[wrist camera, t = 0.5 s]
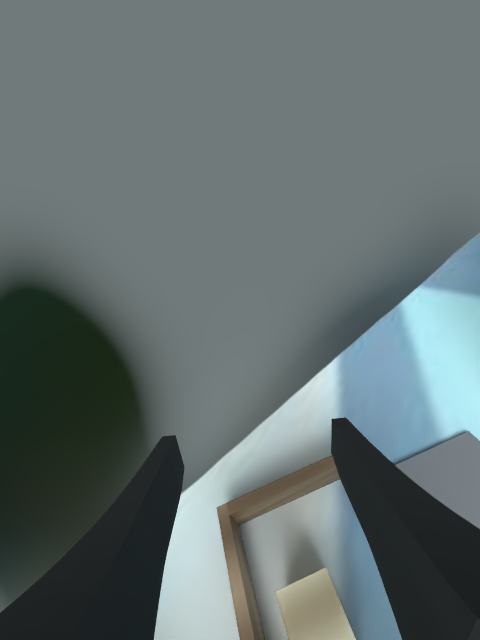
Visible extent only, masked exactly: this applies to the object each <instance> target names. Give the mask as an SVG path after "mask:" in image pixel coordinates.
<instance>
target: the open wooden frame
mask: <svg viewBox="0 0 480 640" xmlns="http://www.w3.org/2000/svg"><path fill="white" fill-rule="evenodd" d="M339 479H340V477H339V474H338V471H337V468H336V465H335V462H334V459H333V456H330V457H328V458H325V459H323V460H321V461H319V462H317V463H314V464H312V465H310V466H308V467H305V468H303V469H301V470H299V471H297V472H294V473H292V474H290V475H288V476H286V477H283V478H281V479H279V480H277V481H274V482H272V483H270V484H268V485H266V486H263V487H261V488H259V489H257V490H254V491H252V492H250V493H248V494H246V495H243V496H241V497H239V498H237V499H235V500H232V501H230V502H228V503H226V504H223V505H221V506H219V507H217V512H218V517H219V523H220V529H221V534H222V540H223V546H224V551H225V557H226V563H227V569H228V574H229V580H230V586H231V591H232V597H233V603H234V608H235V614H236V620H237V626H238V631H239V637H240V640H265V638H264V634H263V629H262V625H261V620H260V616H259V612H258V607H257V603H256V598H255V594H254V589H253V585H252V581H251V576H250V572H249V567H248V563H247V558H246V554H245V550H244V545H243V541H242V536H241V532H240V528H239V525H241V524H243V523H245V522H247V521H249V520H251V519H254V518H256V517H258V516H260V515H262V514H265V513H267V512H269V511H271V510H273V509H275V508H278V507H280V506H282V505H284V504H286V503H289V502H291V501H293V500H295V499H297V498H299V497H302V496H304V495H306V494H308V493H310V492H313V491H315V490H317V489H319V488H321V487H323V486H326V485H328V484H330V483H332V482H334V481H337V480H339Z"/></svg>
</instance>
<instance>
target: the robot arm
mask: <svg viewBox="0 0 480 640" xmlns="http://www.w3.org/2000/svg"><path fill="white" fill-rule="evenodd" d="M331 453H332V456H333V459H334V462H335V465H336V468H337V471H338V474H339V477H340V479H341V482H342V484H343V486H344V488H345V491H346V493H347V495H348V497H349V500H350V502H351V504H352V506H353V509H354V511H355V513H356V515H357V518H358V520H359V522H360V524H361V527H362V529H363V531H364V533H365V536H366V538H367V540H368V543H369V545H370V548H371V551H372V553H373V556H374V559H375V562H376V565H377V567H378V570H379V573H380V576H381V578H382V581H383V584H384V587H385V590H386V593H387V596H388V599H389V602H390V605H391V607H392V610H393V613H394V616H395V619H396V622H397V625H398V628H399V631H400V634H401V637H402V640H480V529H479V528H478V527H476V526H475V525H473V524H472V523H470V522H469V521H467V520H466V519H464V518H463V517H461V516H460V515H458V514H457V513H455V512H454V511H452V510H451V509H449V508H448V507H447V506H445V505H444V504H443V503H441V502H440V501H438V500H437V499H436V498H434V497H433V496H432V495H431V494H429V493H428V492H427V491H425V490H424V489H423V488H421V487H420V486H419V485H418V484H416V483H415V482H414V481H413V480H412V479H410V478H409V477H408V476H407V475H406V474H404V473H403V472H402V471H401V470H400V469H399V468H397V467H396V466H395V465H394V464H393V463H392V462H391V461H390V460H388V459H387V458H386V457H385V456H384V455H383V454H382V453H381V452H380V451H379V450H378V449H377V448H376V447H374V446H373V445H372V444H371V443H370V442H369V441H368V440H367V439H366V438H365V437H364V436H363V435H362V434H361V433H360V432H359V431H358V430H357V429H356V428H355V427H354V426H353V424H352V423H351V422H350V421H349V420H348V419H346V418H337V419H332V441H331ZM183 474H184V464H183V460H182V457H181V453H180V450H179V446H178V443H177V439H176V436H175V435H174V436H164V437H162V438H161V439H160V441H159V442H158V443H157V445H156V446H155V448H154V449H153V451H152V452H151V454H150V455H149V456H148V458H147V459H146V461H145V462H144V463H143V465H142V466H141V468H140V469H139V470H138V472H137V473H136V475H135V476H134V477H133V478H132V480H131V481H130V482H129V484H128V485H127V487H126V488H125V489H124V490H123V491H122V493H121V494H120V495H119V496H118V498H117V499H116V500H115V501H114V503H113V504H112V505H111V506H110V507H109V509H108V510H107V511H106V512H105V513H104V514H103V516H102V517H101V518H100V519H99V520H98V521H97V522H96V523H95V525H94V526H93V527H92V528H91V529H90V530H89V531H88V532H87V533H86V534H85V535H84V536H83V537H82V538H81V539H80V540H79V541H78V543H76V544H75V546H74V547H73V548H72V549H71V550H70V551H69V552H68V553H67V554H66V555H65V556H64V557H63V558H62V559H61V560H60V561H58V562H57V563H56V564H55V565H54V566H53V567H52V568H51V569H50V570H49V571H48V572H47V573H46V574H45V575H43V577H41V578H40V579H39V580H38V581H37V582H36V583H35V584H34V585H32V586H31V587H30V588H29V589H28V590H27V591H26V592H24V593H23V594H22V595H21V596H20V597H19V598H18V599H16V600H15V601H14V602H13V603H12V604H10V605H9V606H8V607H7V608H6V609H4V610H3V611H2V612H1V613H0V640H154V632H155V625H156V618H157V611H158V604H159V597H160V591H161V584H162V578H163V571H164V565H165V560H166V555H167V550H168V546H169V542H170V538H171V534H172V529H173V525H174V521H175V517H176V513H177V508H178V504H179V500H180V495H181V490H182V483H183Z"/></svg>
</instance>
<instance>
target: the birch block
mask: <svg viewBox="0 0 480 640" xmlns="http://www.w3.org/2000/svg"><path fill="white" fill-rule="evenodd" d="M276 595H277V599H278V602H279V606H280V610H281V613H282V617H283V620H284V624H285V628H286V631H287V635H288V639H289V640H356V639H355V636H354V634H353V631H352V629H351V626H350V624H349V622H348V619H347V617H346V614H345V612H344V609H343V607H342V605H341V602H340V600H339V597H338V595H337V592H336V590H335V588H334V585H333V583H332V580H331V578H330V575H329V573H328V571H327V568H326V567H325V568H323V569H321V570H319V571H317V572H315V573H313V574H311V575H309V576H307V577H305V578H302V579H300V580H298V581H296V582H294V583H292V584H290V585H288V586H286V587H284V588H282V589H280V590H277V591H276Z"/></svg>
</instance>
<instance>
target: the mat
mask: <svg viewBox="0 0 480 640" xmlns="http://www.w3.org/2000/svg"><path fill="white" fill-rule="evenodd" d="M395 466H396V467H397V468H399V469H400V470H401V471H402V472H403V473H404V474H406V475H407V476H408V477H409V478H410V479H412V480H413V481H414V482H415V483H416V484H418V485H419V486H420V487H421V488H423V489H424V490H425V491H427V492H428V493H429V494H431V495H432V496H433V497H434V498H436V499H437V500H438V501H440V502H441V503H443V504H444V505H445V506H447V507H448V508H449V509H451V510H452V511H454V512H455V513H457V514H458V515H460V516H461V517H463V518H464V519H466V520H467V521H469V522H470V523H472V524H473V525H475V526H476V527H478V528H479V529H480V441H479V440H478V439H477V438H476V437H475V436H473V435H472V434H471V433H470V432H469V431H468V432H466V433H463V434H461V435H459V436H457V437H455V438H453V439H450V440H448V441H446V442H444V443H442V444H440V445H437V446H435V447H433V448H431V449H429V450H427V451H424V452H422V453H420V454H418V455H416V456H414V457H411V458H409V459H407V460H405V461H403V462H401V463H398V464H396V465H395Z"/></svg>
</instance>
